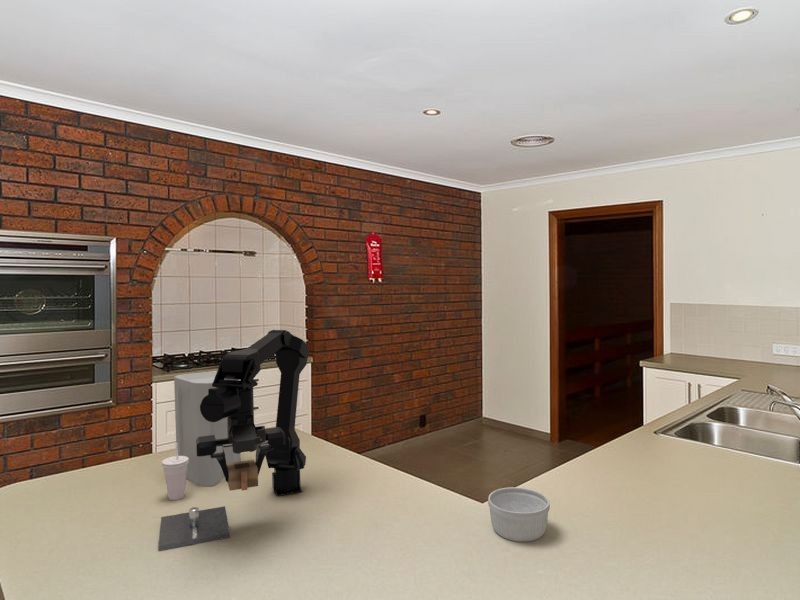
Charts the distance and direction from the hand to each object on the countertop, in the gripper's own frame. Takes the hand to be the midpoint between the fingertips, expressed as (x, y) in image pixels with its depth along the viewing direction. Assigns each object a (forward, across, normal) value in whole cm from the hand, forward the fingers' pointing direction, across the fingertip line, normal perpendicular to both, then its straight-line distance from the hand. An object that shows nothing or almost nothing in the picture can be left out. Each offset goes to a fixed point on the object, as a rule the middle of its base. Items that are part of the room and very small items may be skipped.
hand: (242, 478), depth 116 cm
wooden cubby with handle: (+1, 0, 0) cm, 1 cm away
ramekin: (+11, +55, -26) cm, 62 cm away
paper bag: (+11, -6, +39) cm, 41 cm away
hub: (+11, -10, +4) cm, 15 cm away
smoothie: (+11, -14, +24) cm, 30 cm away
